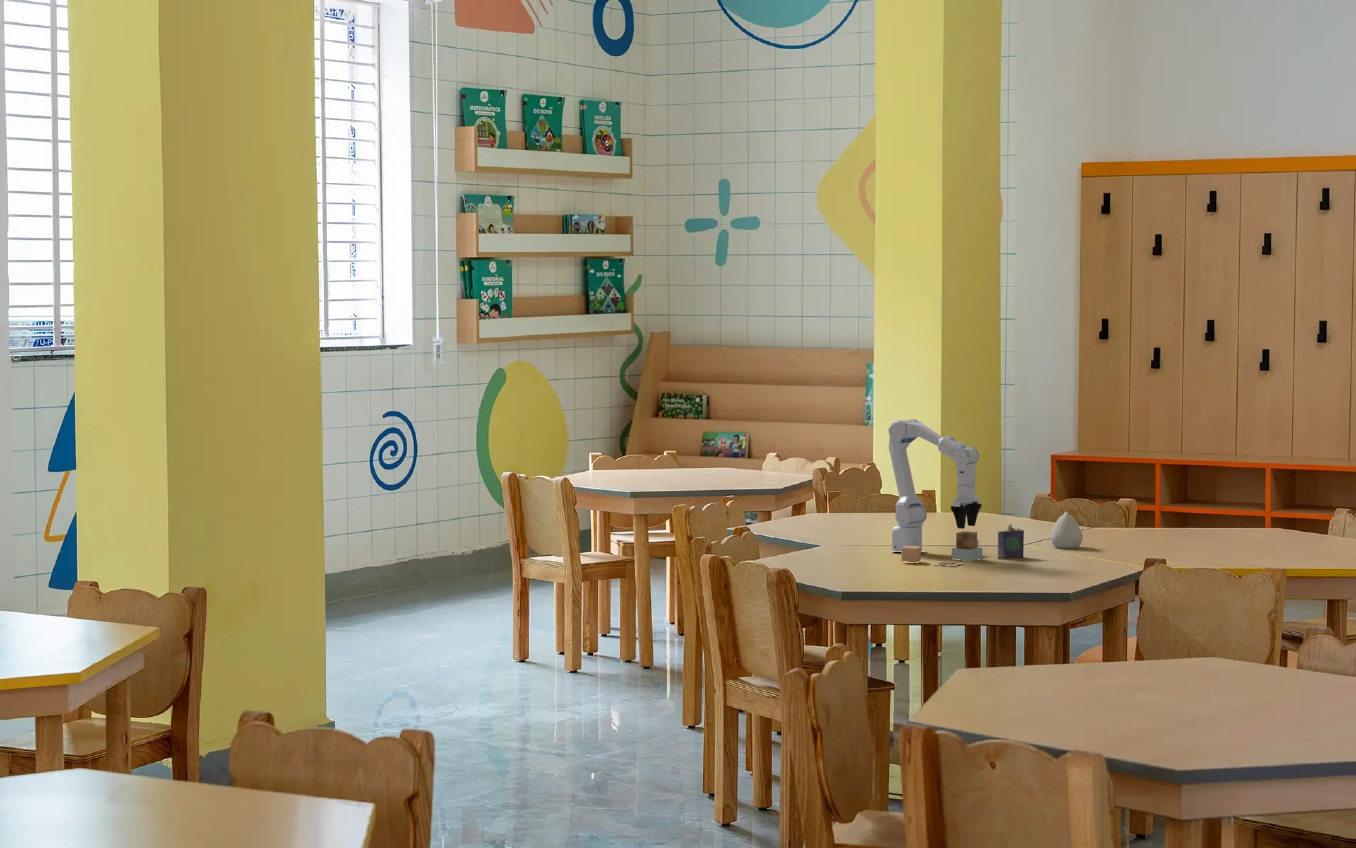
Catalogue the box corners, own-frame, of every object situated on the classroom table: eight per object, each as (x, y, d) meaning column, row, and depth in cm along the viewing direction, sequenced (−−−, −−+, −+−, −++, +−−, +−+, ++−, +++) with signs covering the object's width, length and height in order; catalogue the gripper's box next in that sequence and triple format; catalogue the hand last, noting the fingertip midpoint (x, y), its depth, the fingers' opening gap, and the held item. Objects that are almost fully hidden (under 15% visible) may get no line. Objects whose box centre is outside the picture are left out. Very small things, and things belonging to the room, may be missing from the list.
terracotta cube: (901, 563, 457) (901, 547, 457) (905, 561, 462) (905, 545, 462) (917, 564, 456) (917, 548, 455) (920, 562, 460) (920, 546, 460)
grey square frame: (933, 565, 453) (933, 563, 453) (943, 562, 458) (943, 560, 458) (953, 567, 448) (953, 564, 448) (963, 564, 454) (963, 562, 454)
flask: (1000, 559, 464) (1000, 526, 463) (995, 558, 466) (995, 525, 466) (1025, 557, 467) (1025, 524, 466) (1020, 556, 469) (1020, 523, 469)
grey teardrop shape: (1083, 550, 482) (1084, 514, 482) (1051, 549, 484) (1051, 513, 484) (1081, 545, 492) (1081, 510, 492) (1049, 545, 495) (1050, 510, 494)
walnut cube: (956, 548, 463) (956, 533, 463) (962, 546, 467) (962, 531, 467) (970, 549, 460) (970, 534, 460) (977, 547, 464) (977, 532, 464)
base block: (951, 560, 463) (951, 548, 463) (963, 558, 469) (963, 546, 468) (970, 563, 459) (970, 550, 458) (982, 560, 464) (982, 547, 464)
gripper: (967, 487, 455) (967, 530, 456) (987, 483, 466) (987, 525, 467) (947, 486, 459) (947, 528, 460) (967, 482, 471) (967, 524, 471)
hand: (966, 527), depth 464 cm, fingers open, 7 cm apart
